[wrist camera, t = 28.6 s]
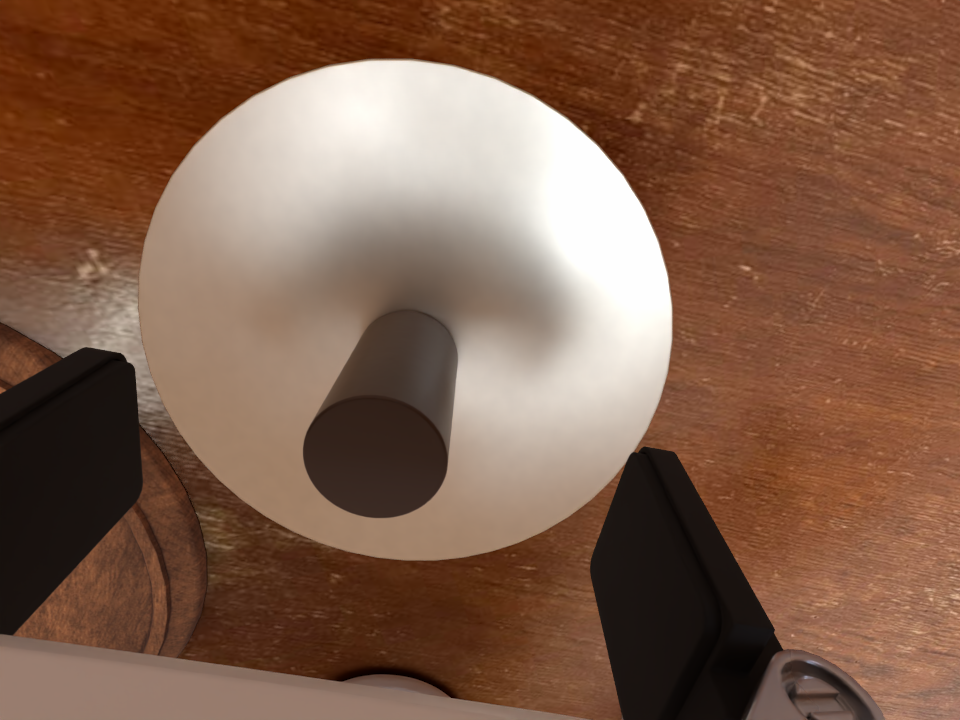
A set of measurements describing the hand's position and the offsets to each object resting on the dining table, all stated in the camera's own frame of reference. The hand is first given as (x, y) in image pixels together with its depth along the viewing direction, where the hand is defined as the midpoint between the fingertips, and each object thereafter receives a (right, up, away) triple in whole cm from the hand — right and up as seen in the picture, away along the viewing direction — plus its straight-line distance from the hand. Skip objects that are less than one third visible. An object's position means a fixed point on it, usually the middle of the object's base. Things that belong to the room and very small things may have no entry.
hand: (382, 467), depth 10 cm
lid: (0, +2, +6) cm, 7 cm away
